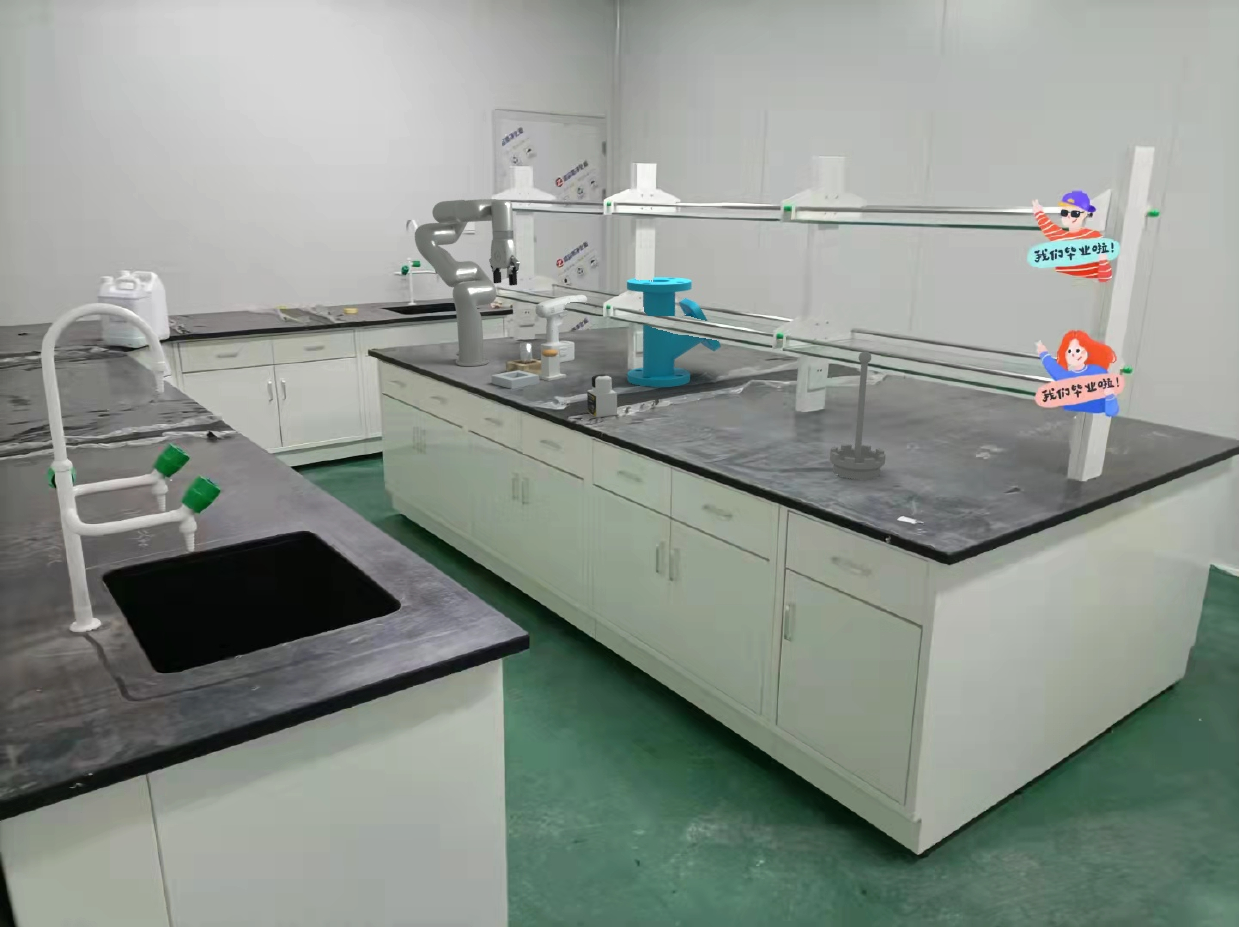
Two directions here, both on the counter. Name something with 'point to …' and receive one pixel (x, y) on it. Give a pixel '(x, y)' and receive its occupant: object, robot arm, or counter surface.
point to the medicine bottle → (602, 397)
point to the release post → (550, 368)
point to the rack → (524, 366)
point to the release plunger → (549, 352)
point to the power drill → (557, 325)
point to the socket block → (515, 379)
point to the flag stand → (858, 441)
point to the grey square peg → (526, 353)
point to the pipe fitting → (665, 333)
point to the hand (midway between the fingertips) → (505, 284)
